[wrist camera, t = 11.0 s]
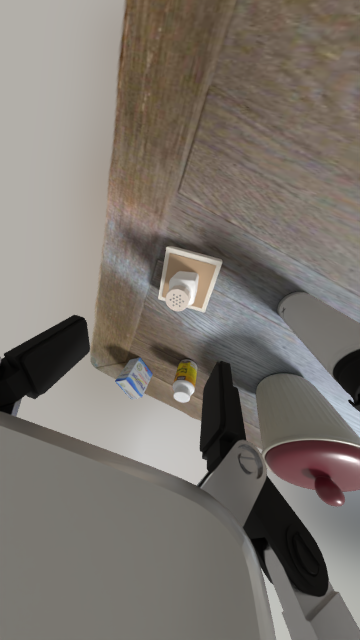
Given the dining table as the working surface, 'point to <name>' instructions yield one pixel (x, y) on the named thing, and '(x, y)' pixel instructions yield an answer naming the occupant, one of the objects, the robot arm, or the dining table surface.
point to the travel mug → (326, 338)
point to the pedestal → (195, 263)
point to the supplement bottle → (185, 380)
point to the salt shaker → (182, 290)
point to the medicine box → (134, 378)
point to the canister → (307, 438)
